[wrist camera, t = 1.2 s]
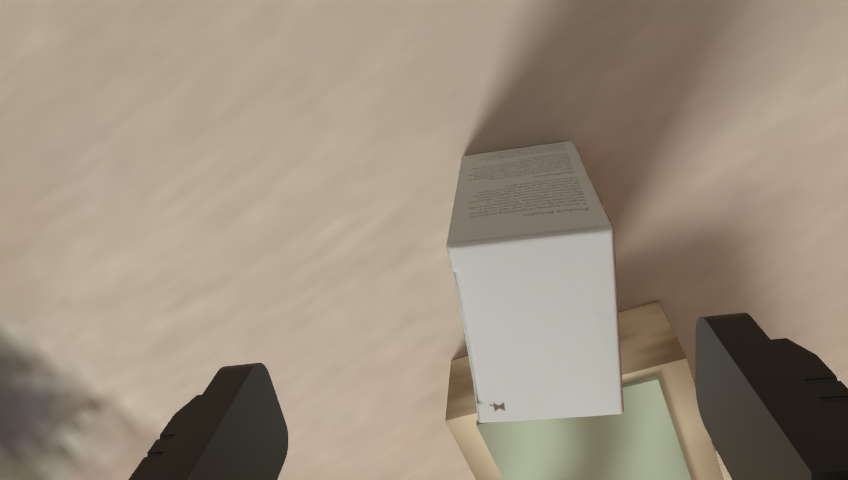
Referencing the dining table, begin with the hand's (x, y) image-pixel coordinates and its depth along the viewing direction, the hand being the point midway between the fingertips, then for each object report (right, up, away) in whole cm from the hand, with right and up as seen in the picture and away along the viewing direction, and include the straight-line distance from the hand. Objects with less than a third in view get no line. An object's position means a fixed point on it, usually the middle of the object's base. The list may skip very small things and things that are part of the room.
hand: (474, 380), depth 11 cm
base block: (+9, -8, +24) cm, 27 cm away
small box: (+4, +4, +19) cm, 20 cm away
